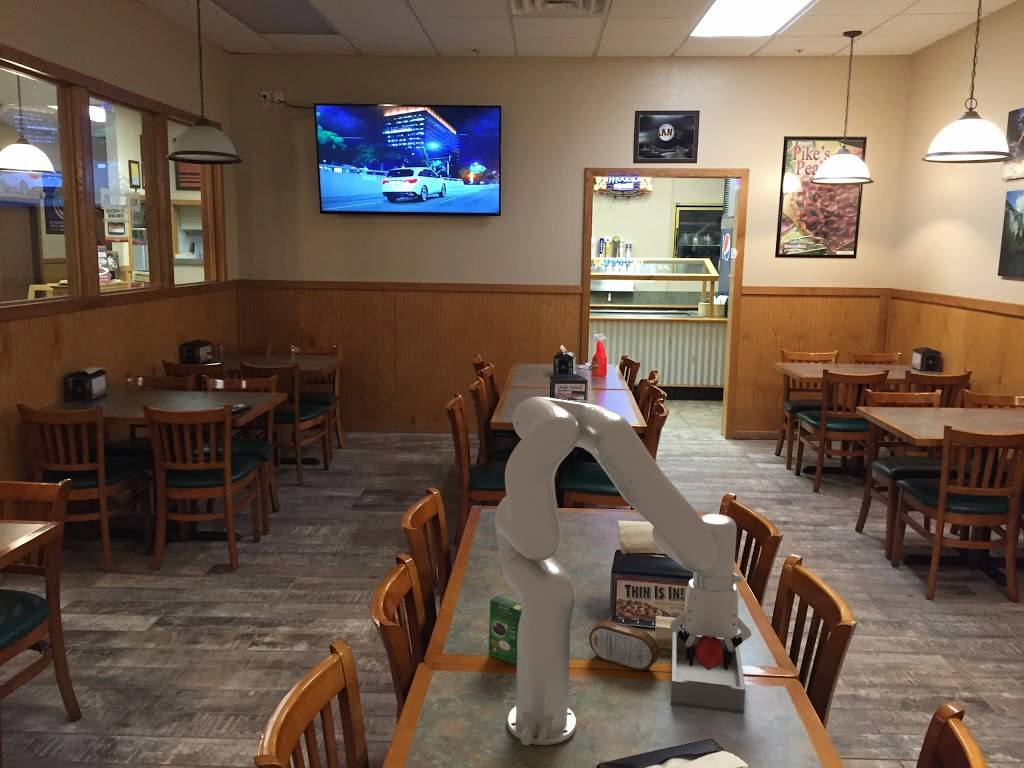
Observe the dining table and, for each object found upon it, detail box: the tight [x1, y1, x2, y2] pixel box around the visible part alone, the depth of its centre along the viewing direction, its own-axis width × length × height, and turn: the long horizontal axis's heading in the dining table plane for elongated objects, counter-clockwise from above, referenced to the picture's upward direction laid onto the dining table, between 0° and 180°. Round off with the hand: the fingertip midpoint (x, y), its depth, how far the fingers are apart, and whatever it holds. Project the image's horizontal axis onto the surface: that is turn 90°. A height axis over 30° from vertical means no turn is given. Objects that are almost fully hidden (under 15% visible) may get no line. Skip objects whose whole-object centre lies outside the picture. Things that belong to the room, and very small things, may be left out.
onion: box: [694, 636, 724, 670], centre depth 156 cm, size 6×6×8 cm
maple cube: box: [654, 615, 676, 650], centre depth 176 cm, size 5×5×5 cm
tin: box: [588, 619, 660, 672], centre depth 167 cm, size 15×3×8 cm, turn 59°
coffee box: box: [488, 595, 522, 668], centre depth 168 cm, size 8×3×13 cm, turn 54°
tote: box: [670, 632, 746, 715], centre depth 161 cm, size 20×14×5 cm
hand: (708, 663), depth 156 cm, fingers closed on onion, 5 cm apart
